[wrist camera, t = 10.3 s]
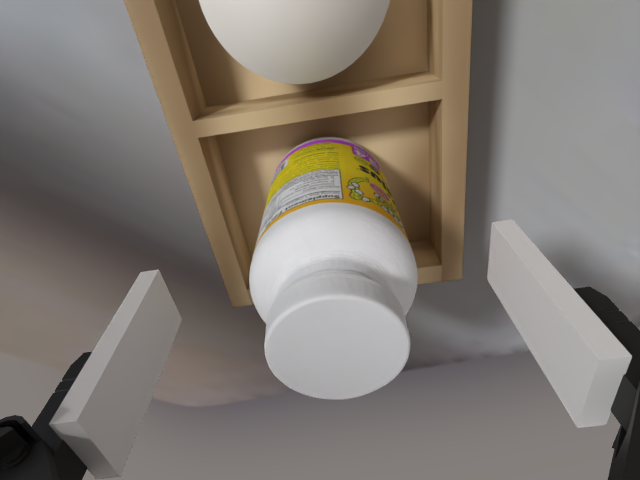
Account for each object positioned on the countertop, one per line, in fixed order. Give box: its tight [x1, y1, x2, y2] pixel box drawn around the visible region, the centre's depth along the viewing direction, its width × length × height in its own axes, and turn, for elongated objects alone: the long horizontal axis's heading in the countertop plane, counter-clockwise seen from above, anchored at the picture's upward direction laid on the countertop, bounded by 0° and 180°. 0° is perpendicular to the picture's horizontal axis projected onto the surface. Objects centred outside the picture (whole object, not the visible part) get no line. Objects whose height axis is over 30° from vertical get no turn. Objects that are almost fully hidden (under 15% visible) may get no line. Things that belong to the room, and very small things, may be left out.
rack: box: [124, 0, 472, 307], centre depth 20 cm, size 14×22×4 cm, turn 9°
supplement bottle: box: [249, 137, 418, 399], centre depth 18 cm, size 7×7×13 cm
